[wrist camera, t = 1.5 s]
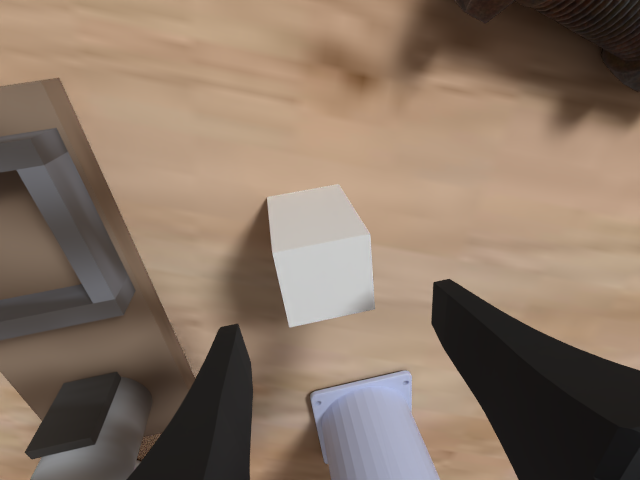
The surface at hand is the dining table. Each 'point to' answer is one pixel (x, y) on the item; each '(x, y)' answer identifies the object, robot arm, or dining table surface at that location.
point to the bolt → (586, 27)
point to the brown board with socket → (76, 299)
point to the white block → (320, 255)
